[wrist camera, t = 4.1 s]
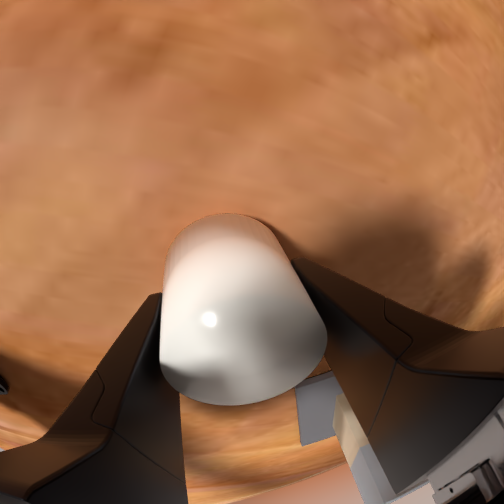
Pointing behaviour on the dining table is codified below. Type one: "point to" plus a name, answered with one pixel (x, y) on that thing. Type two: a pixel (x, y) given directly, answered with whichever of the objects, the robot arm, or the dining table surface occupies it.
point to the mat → (316, 407)
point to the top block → (375, 479)
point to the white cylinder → (235, 314)
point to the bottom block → (348, 429)
